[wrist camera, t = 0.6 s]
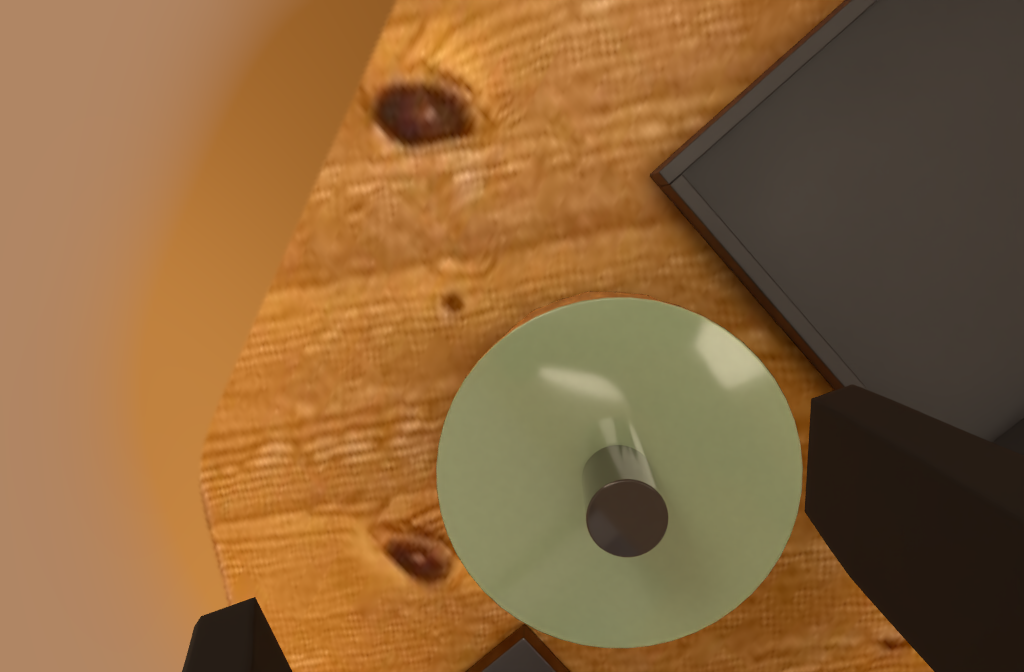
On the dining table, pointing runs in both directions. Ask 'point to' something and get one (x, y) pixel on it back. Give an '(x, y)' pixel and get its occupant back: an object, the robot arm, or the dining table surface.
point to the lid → (619, 472)
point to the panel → (519, 655)
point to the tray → (883, 203)
